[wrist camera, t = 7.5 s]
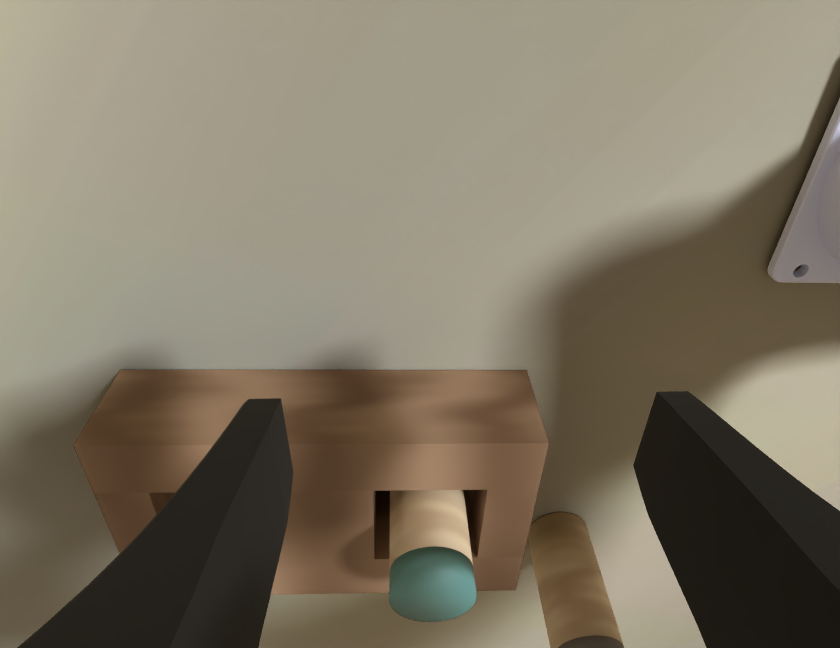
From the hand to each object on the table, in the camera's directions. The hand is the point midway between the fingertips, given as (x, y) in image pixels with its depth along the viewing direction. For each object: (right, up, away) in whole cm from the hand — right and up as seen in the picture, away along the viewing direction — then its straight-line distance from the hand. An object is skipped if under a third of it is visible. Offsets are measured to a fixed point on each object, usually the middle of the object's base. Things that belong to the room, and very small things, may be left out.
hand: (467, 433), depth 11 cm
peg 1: (-1, -3, +14) cm, 15 cm away
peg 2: (+6, -8, +18) cm, 21 cm away
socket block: (-5, -3, +14) cm, 15 cm away
